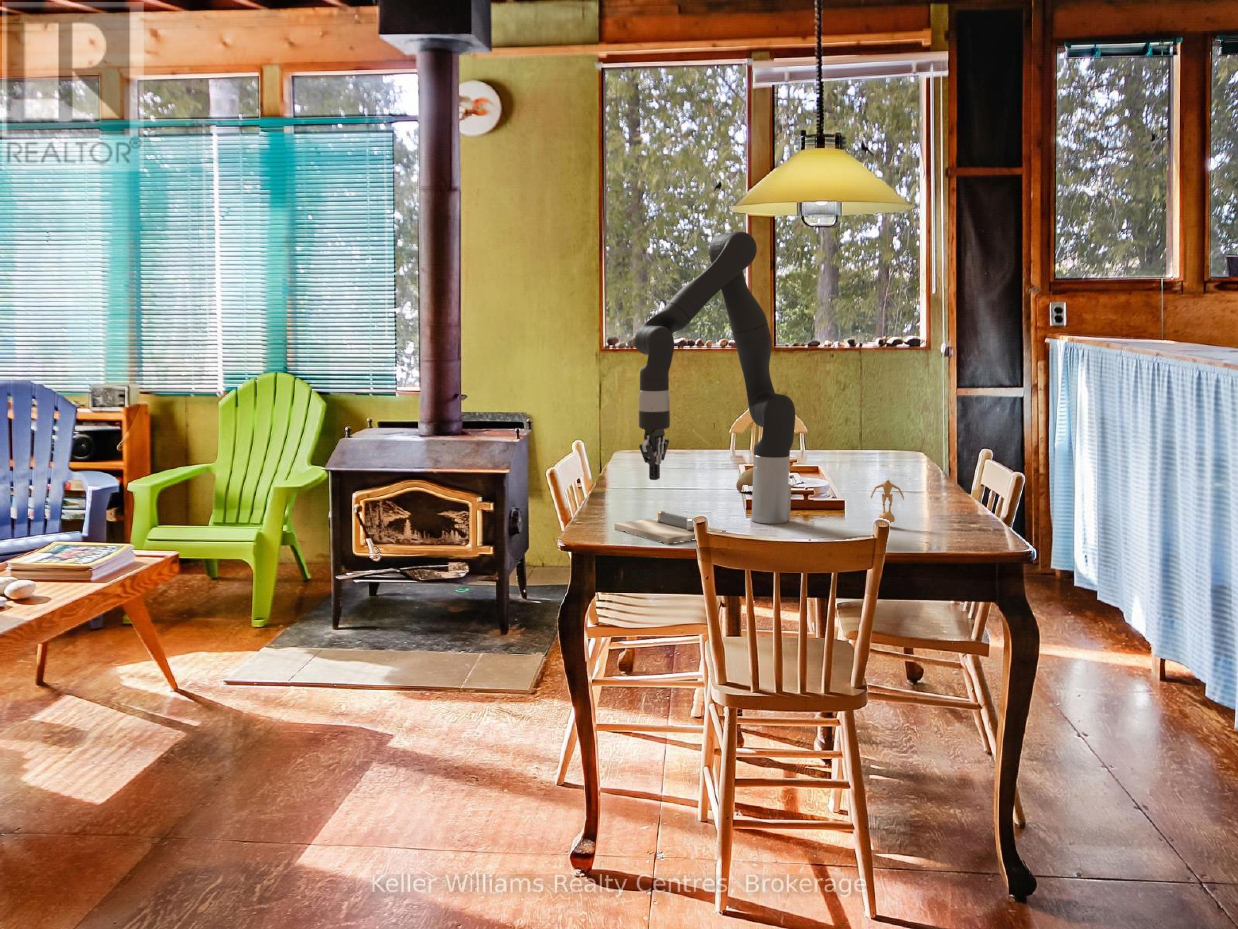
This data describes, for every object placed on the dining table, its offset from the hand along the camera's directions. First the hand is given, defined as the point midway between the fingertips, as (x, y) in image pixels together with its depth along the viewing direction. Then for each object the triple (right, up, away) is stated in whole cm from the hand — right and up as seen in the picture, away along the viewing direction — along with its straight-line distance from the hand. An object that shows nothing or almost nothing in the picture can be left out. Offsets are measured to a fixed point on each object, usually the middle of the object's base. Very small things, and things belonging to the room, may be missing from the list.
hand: (654, 479), depth 272 cm
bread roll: (+34, -5, +63) cm, 72 cm away
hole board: (+4, -13, 0) cm, 14 cm away
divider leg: (+6, -11, 0) cm, 13 cm away
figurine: (+60, -12, +13) cm, 62 cm away
